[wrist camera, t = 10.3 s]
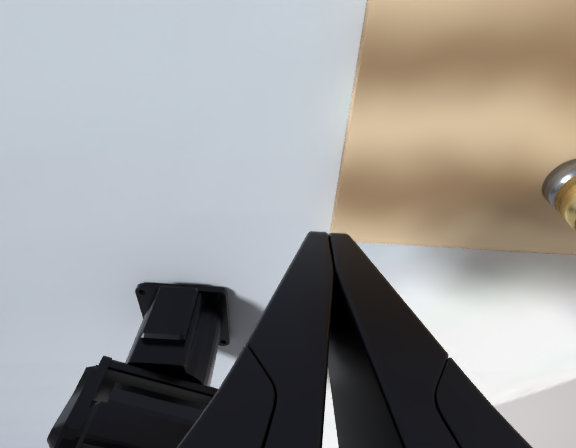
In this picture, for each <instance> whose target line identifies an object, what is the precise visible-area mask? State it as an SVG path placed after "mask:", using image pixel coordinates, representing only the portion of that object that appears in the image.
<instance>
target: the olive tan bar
mask: <svg viewBox="0 0 576 448" xmlns="http://www.w3.org/2000/svg"><path fill="white" fill-rule="evenodd" d="M554 207H555V209H556V211H557V212H558V213H559V214H560V215H561V216H562V217H563V218H564V219H565V220H566V221H567V222H568V224H569V225H570V226H571V227H572V228H573V229H574V230H575V220H576V176H575V177H573V178H571V179H570V180H568V181H567V182H566V183H565V184H564V185H563V186H562V187H561V188H560V189H559V190H558V192H557V194H556V196H555V198H554ZM575 231H576V230H575Z"/></svg>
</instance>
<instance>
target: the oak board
mask: <svg viewBox="0 0 576 448" xmlns="http://www.w3.org/2000/svg"><path fill="white" fill-rule="evenodd" d="M572 159H576V0H367V4H366V11H365V17H364V23H363V29H362V36H361V42H360V48H359V54H358V60H357V67H356V73H355V79H354V85H353V92H352V98H351V104H350V110H349V117H348V123H347V129H346V135H345V142H344V148H343V154H342V160H341V167H340V173H339V179H338V185H337V192H336V198H335V204H334V210H333V216H332V223H331V229H330V232H331V233H346V234H348V235H349V236H350V237H351V238H352V239H353V240H354V241H355V242H369V243H385V244H402V245H419V246H435V247H452V248H468V249H485V250H502V251H518V252H535V253H552V254H568V255H576V231H575V230H574V229H573V228H572V227H571V226H570V225H569V224H568V222H567V221H566V220H565V219H564V218H563V217H562V216H561V215H560V214H559V213H558V212H557V211H556V210H555V209H554V208H553V206H552V205H551V204H550V203H549V202H548V201H547V200H546V199H545V198H544V197H543V195H542V185H543V182H544V180H545V178H546V177H547V176H548V174H549V173H550V172H551V171H552V170H554V169H555V168H556V167H558V166H559V165H561V164H562V163H564V162H567V161H569V160H572Z"/></svg>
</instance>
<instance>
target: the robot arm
mask: <svg viewBox="0 0 576 448" xmlns="http://www.w3.org/2000/svg"><path fill="white" fill-rule="evenodd" d="M135 292H136V296H137V299H138V302H139V306H140V309H141V312H142V316H143V321H142V324H141V326H140V329H139V331H138V333H137V336H136V338H135V341H134V343H133V345H132V348H131V350H130V353H129V355H128V357H127V360H126V362H125V363H122V362H119V361H115V360H112V358H110V357H107V356H103V357H102V359H101V361H100V363H99V365H96V366H92V367H86V369H85V371H84V373H83V375H82V377H81V379H80V381H79V383H78V385H77V387H76V389H75V391H74V393H73V395H72V396H71V398H70V400H69V401H68V403H67V405H66V406H65V408H64V410H63V411H62V413H61V415H60V416H59V418H58V420H57V421H56V423H55V424H54V426H53V428H52V430H51V432H50V434H49V436H48V438H47V442H48V444H49V447H50V448H322V439H323V425H324V411H325V397H326V383H327V369H329V377H330V384H331V392H332V399H333V407H334V415H335V422H336V430H337V437H338V445H339V448H532V447H531V446H530V445H529V443H528V442H527V441H526V440H525V439H524V438H523V437H522V436H521V435H520V434H519V433H518V432H517V431H516V430H515V429H514V428H513V427H512V426H511V425H510V424H509V423H508V422H507V421H506V419H505V418H504V417H503V416H502V415H501V414H500V413H499V412H498V411H497V410H496V409H495V408H494V407H493V406H492V405H491V404H490V402H489V401H488V400H487V399H486V398H485V397H484V396H483V394H482V393H481V392H480V391H479V390H478V389H477V387H476V386H475V385H474V384H473V383H472V382H471V381H470V379H469V378H468V377H467V376H466V375H465V374H464V372H463V371H462V370H461V369H460V368H459V366H458V365H457V364H456V363H455V362H454V360H453V359H452V358H448V353H447V352H446V351H445V350H444V349H443V347H442V346H441V345H440V344H439V343H438V341H437V340H436V339H435V338H434V337H433V335H432V334H431V333H430V332H429V331H428V329H427V328H426V327H425V326H424V325H423V323H422V322H421V321H420V320H419V318H418V317H417V316H416V315H415V314H414V312H413V311H412V310H411V309H410V308H409V306H408V305H407V304H406V303H405V302H404V300H403V299H402V298H401V297H400V296H399V294H398V293H397V292H396V291H395V290H394V288H393V287H392V286H391V285H390V284H389V282H388V281H387V280H386V279H385V278H384V276H383V275H382V274H381V273H380V272H379V270H378V269H377V268H376V267H375V266H374V264H373V263H372V262H371V261H370V260H369V258H368V257H367V256H366V255H365V253H364V252H363V251H362V250H361V249H360V247H359V246H358V245H357V244H356V243H355V241H354V240H353V239H352V238H351V237H350V236H349V235H348V234H346V233H330V234H329V235H328V234H327V233H326V232H315V231H311V232H309V233H308V234H307V236H306V238H305V239H304V241H303V243H302V245H301V247H300V248H299V250H298V252H297V254H296V255H295V257H294V259H293V261H292V263H291V264H290V266H289V268H288V270H287V271H286V273H285V275H284V277H283V279H282V280H281V282H280V284H279V286H278V287H277V289H276V291H275V293H274V295H273V296H272V298H271V300H270V302H269V303H268V305H267V307H266V309H265V311H264V312H263V314H262V316H261V318H260V319H259V321H258V323H257V325H256V327H255V328H254V330H253V332H252V334H251V335H250V337H249V339H248V341H247V343H246V346H245V347H243V349H242V351H241V353H240V354H239V356H238V358H237V360H236V362H235V363H234V365H233V367H232V368H231V370H230V372H229V373H228V375H227V376H226V378H225V380H224V381H223V383H222V385H221V386H220V388H219V389H217V388H213V387H210V384H211V379H212V374H213V369H214V364H215V359H216V354H217V349H218V345H221V346H226V345H228V344H229V343H230V327H229V313H228V299H227V291H226V290H225V289H223V288H213V287H196V286H179V285H162V284H145V283H142V284H138V286H137V288H136V290H135Z"/></svg>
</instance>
